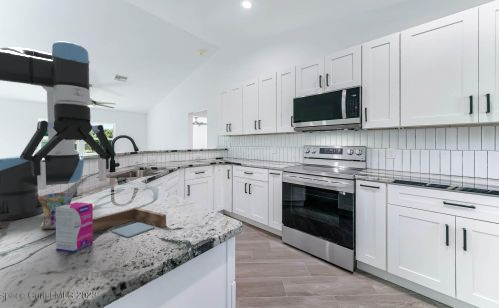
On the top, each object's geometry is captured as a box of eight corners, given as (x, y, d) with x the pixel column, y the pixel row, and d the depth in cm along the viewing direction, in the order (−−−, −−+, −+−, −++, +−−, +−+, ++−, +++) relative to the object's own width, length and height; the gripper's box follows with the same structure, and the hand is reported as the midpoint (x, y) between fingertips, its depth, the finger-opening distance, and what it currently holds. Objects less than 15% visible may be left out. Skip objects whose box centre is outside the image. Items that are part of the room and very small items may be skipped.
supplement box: (74, 253, 56) (72, 208, 56) (55, 250, 58) (53, 207, 57) (94, 243, 62) (93, 202, 62) (76, 241, 63) (75, 201, 63)
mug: (79, 224, 77) (78, 194, 76) (44, 233, 69) (43, 199, 68) (66, 218, 83) (65, 190, 83) (32, 226, 75) (31, 195, 75)
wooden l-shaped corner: (77, 235, 67) (76, 222, 67) (136, 217, 84) (136, 207, 84) (106, 248, 59) (106, 233, 59) (166, 226, 75) (165, 214, 75)
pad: (111, 231, 70) (111, 230, 70) (138, 223, 78) (138, 222, 78) (127, 238, 65) (127, 236, 65) (154, 228, 73) (154, 227, 73)
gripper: (9, 93, 46) (13, 195, 47) (127, 110, 67) (128, 179, 68) (-2, 97, 50) (3, 191, 51) (113, 112, 71) (115, 177, 72)
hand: (75, 184), depth 59 cm, fingers open, 13 cm apart
